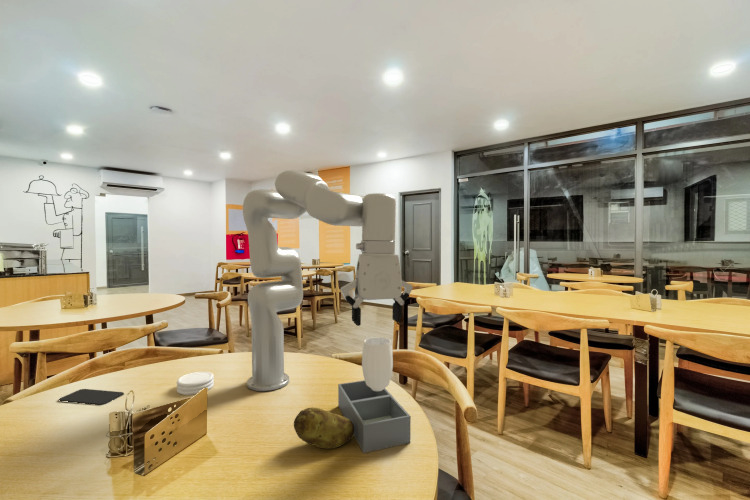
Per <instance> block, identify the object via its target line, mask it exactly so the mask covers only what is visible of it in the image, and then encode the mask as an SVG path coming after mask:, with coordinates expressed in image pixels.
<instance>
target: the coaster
mask: <svg viewBox="0 0 750 500" xmlns="http://www.w3.org/2000/svg"><path fill="white" fill-rule="evenodd" d="M214 377H215V376H214V373H212V372H210V371H195V372H190V373H187V374H184V375H181V376H180V377H179V378H178V379H177V380H176V393H178V394H180V395H183V396H192V395H197V394H196V393H198V392H199V391H200V390H202V389H203V388H206V387H207V388H208V390H207V391H209V390H211V389H212V388H213V387H214V384H215V382H214Z"/></svg>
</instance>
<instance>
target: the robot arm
mask: <svg viewBox="0 0 750 500" xmlns="http://www.w3.org/2000/svg"><path fill="white" fill-rule="evenodd" d="M274 187H275V189H274V190H273V189H263V188H262V189H261V188H260V189H259V188H258V189H255V190H251V191H250V192H248V193H247V194H246V195H245V197H244V200H243V203H242V216H243V221H244V224H245V227H246V229H247V230H246V231H247V236H248V245H249V246H248V249H249V261H250V262H249V263H250V269H251V270H250V271H251V273H252V275H253V276H254V277H256V278H259V279H269V278H278V277H281V280H277V281H276V280H275V281H267V282H266V281H265V282H261V283H257V284H255V285H253V286H252V287H251V288H250V289H249V290H248V294H247V304H248V308H249V312H250V313H249V314H250V323H251V369H252V370H251V374H252V375H251V377H250V378H248V379H247V382H246V386H247V388H249V389H250V390H252V391H255V392H256V391H257V392H267V391H268V392H269V391H275V390H278V389H280V388H283V387H285V386H287V385H288V383H290V376H289V374H287V373H286V372H285V355H284V354H285V351H284V350H285V349H284V347H285V343H284V341H285V339H284V334H285V333H284V324H283V322H282V319H281V318H280V317H279V315H278V312H279V313H280V312H283V311H287V310H292V309H296V308H297V307H299V306H300V305H301V304H302V302H303V300H304V299H303V298H304V286H303V272H302V271H303V270H302V269H303V268H302V260H301V258H300V255H299V253H298V252H297V251H296V250H295V249H294V248H293V247H288V246H279V243H278V233H277V230H276V228H275V227H274V225H273V224H272V222H271V221H270V220H269V219H280V220H281V219H282V220H283V219H285V220H294V219H298V218H299V217H301V216H302V215H304V214H305V213H307V214H308V215H309V216H311V217H312V218H314V219H316V220H318V221H320V222H323V223H325V224H327V225H331V226H337V227H339V226H343V227H361V240H360V242H359V243H356V244H355V249H356V250H360V252H361V253H360V254H359V255H358V258H357V259H358V260H357V263H356V268H355V270H356V271H355V278H354V279H353V280H352V281H350V282H348V283H347V284H345V285H343V286H341V287H340V292H341V295H342V296H343V299H344V300H345V301H346V302H347V303H349V305H350V306H351V321H352V322H353V324H355V326H357V327H360V326H361V324H362V323H361V322H362V320H361V319H362V318H361V317H362V309H361V307H360V306H361V304H362V303H363V301H373V300H374V301H375V300H378V301H379V300H391V299H392V300H393V301H394V302H393V303H392V314H391V315H392V320H393V321H394V322H396V323H401V318H402V317H403V306H404V305H405V302H406V301H407V300H408V299H409V298H410V294H411V292H412V290H413V288H414V286H413V285H412V284H410V283H408V282H407V281H405V280H403V279H402V270H401V263H400V257H399V255H398V254H395V253H396V205H397V204H396V203H397V201H396V198H395V196H394V195H392V194H389V193H381V192H379V193H377V192H376V193H375V192H374V193H368V194H365V195H360V194H358V195H357V194H353V193H344V192H338V191H337V192H336V191H334V190H333V191H332V190H331V189H330V187H329V185H328V183H326V181H324V180H323V179H322V178H321V177H320V176H319V175H317V174H314V173H310V172H304V171H299V170H294V169H293V170H291V169H290V170H284V171H282V172H280V173H279V174H278V175H277V176H276V178H275V181H274ZM403 288H404V290H403ZM353 289H354V294H355V295H354V296H353V297H352V296H351V294H350V291H351V290H353ZM402 290H403V292H402Z"/></svg>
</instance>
